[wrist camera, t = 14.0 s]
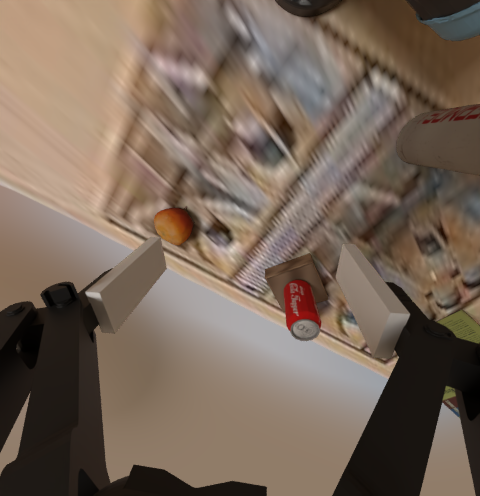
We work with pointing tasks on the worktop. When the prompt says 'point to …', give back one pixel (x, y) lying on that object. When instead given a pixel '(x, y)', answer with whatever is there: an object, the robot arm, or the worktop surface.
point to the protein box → (465, 330)
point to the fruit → (174, 225)
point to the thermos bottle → (443, 139)
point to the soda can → (301, 311)
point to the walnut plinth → (295, 278)
